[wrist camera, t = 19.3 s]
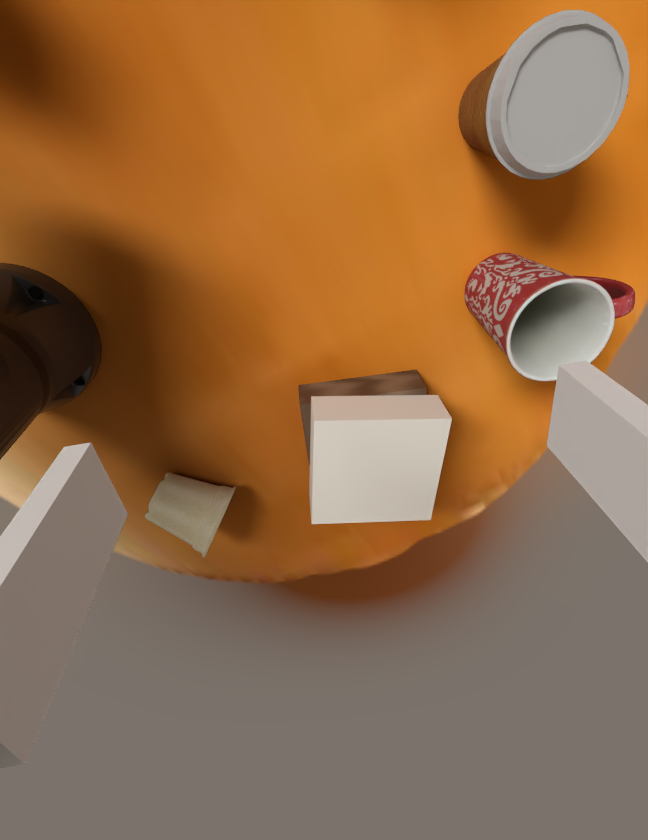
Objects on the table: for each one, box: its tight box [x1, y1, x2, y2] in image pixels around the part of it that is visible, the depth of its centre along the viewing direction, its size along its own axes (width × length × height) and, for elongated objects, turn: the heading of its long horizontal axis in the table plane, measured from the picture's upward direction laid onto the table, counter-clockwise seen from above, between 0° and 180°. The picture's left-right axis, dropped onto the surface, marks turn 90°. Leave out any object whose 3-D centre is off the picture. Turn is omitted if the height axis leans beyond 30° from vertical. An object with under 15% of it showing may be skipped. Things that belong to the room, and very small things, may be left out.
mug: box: [465, 253, 635, 381], centre depth 43 cm, size 13×9×14 cm
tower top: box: [309, 395, 452, 524], centre depth 51 cm, size 14×14×5 cm
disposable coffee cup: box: [459, 10, 630, 180], centre depth 35 cm, size 10×10×12 cm
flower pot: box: [145, 472, 236, 558], centre depth 57 cm, size 9×9×9 cm
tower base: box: [299, 370, 427, 466], centre depth 55 cm, size 14×14×5 cm
